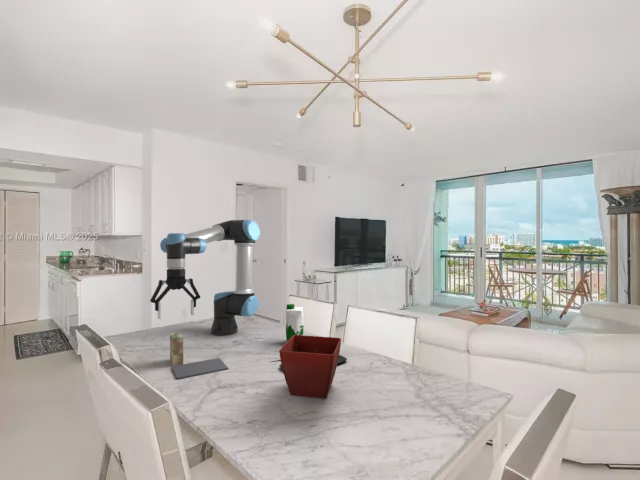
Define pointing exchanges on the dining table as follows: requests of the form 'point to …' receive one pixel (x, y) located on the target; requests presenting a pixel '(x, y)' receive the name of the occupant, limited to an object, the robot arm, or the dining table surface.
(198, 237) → the robot arm
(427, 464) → the dining table surface
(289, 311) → the milk carton
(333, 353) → the plant pot
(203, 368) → the rubber mat
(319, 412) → the dining table surface
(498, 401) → the dining table surface
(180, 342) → the oak slab
